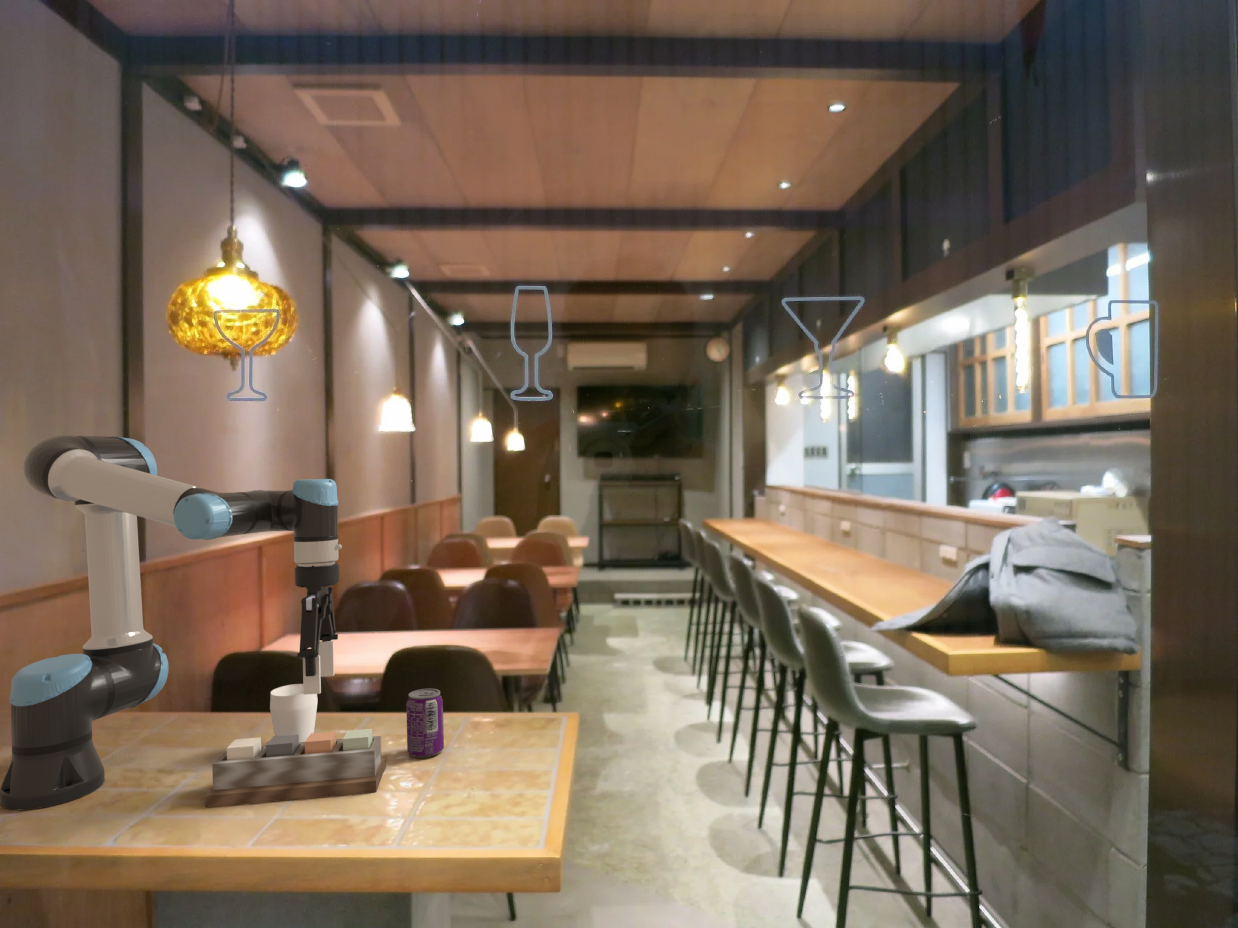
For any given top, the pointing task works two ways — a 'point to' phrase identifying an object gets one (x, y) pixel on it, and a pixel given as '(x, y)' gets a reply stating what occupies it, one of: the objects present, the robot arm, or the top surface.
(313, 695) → the cup
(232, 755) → the key ivory
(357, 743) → the key sage
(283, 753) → the key charcoal
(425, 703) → the beverage can
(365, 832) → the top surface
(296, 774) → the slotted block tray
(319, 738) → the key terracotta
